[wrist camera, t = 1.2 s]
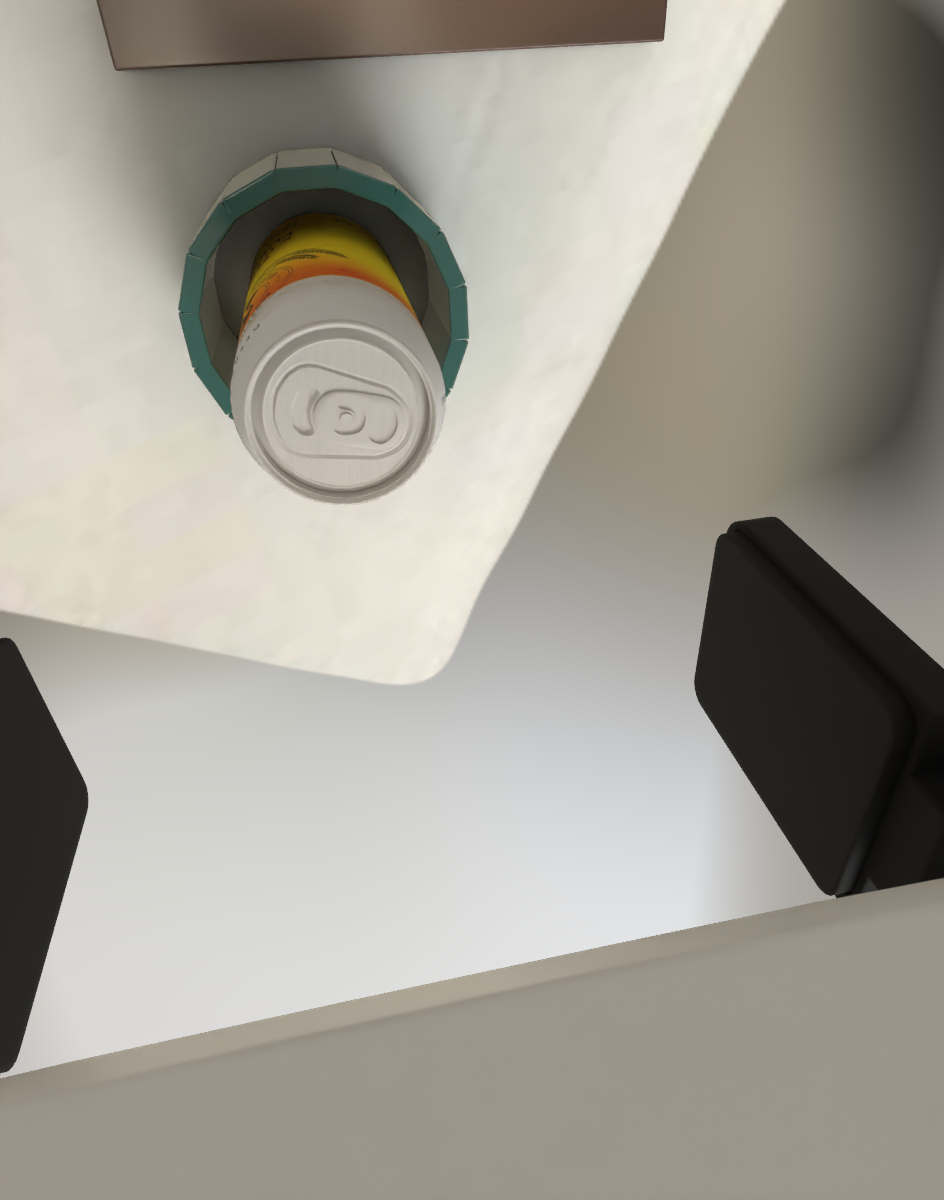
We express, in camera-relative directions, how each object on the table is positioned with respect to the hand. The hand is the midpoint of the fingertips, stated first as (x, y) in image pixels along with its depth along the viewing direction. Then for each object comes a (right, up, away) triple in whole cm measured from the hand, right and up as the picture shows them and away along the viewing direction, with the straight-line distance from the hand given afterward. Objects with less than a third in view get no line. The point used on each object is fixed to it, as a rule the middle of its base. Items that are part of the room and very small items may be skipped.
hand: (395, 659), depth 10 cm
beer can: (-5, +14, +23) cm, 27 cm away
